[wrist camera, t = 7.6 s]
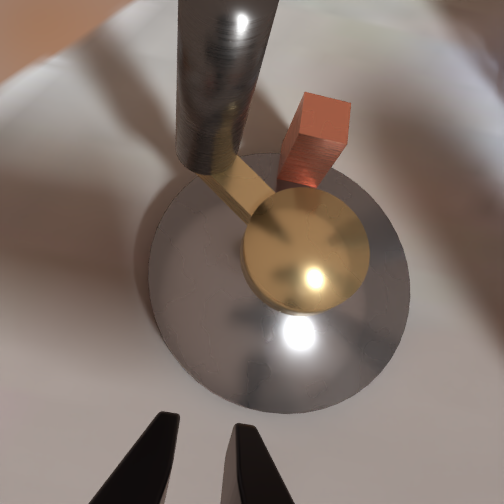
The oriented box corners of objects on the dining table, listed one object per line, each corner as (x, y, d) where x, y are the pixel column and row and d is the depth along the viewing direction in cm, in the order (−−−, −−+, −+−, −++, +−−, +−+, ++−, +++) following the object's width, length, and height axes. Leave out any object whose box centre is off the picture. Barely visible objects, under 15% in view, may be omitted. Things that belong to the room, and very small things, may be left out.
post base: (393, 432, 20) (462, 443, 15) (119, 388, 19) (103, 385, 14) (405, 182, 24) (461, 130, 19) (181, 131, 23) (183, 62, 18)
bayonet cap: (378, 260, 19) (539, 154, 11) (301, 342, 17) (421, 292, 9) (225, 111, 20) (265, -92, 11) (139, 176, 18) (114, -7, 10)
